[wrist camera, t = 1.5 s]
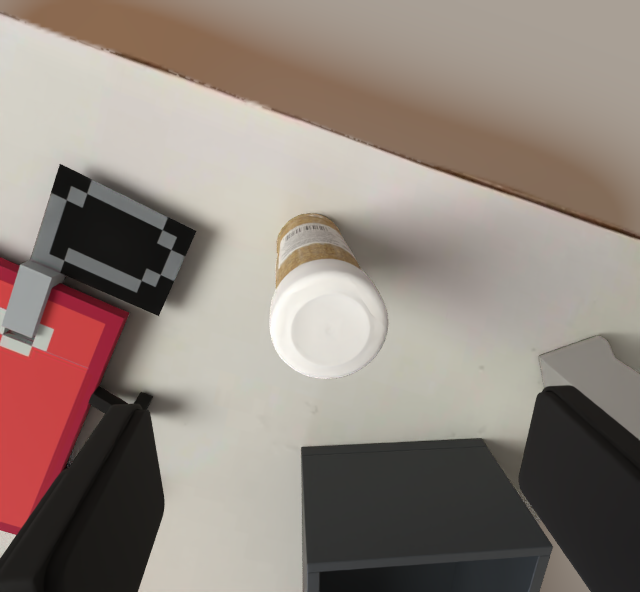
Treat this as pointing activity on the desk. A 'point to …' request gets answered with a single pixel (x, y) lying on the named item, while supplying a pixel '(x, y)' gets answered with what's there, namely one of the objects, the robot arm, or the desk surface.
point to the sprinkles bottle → (323, 302)
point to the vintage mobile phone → (597, 378)
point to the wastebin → (416, 520)
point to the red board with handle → (72, 326)
